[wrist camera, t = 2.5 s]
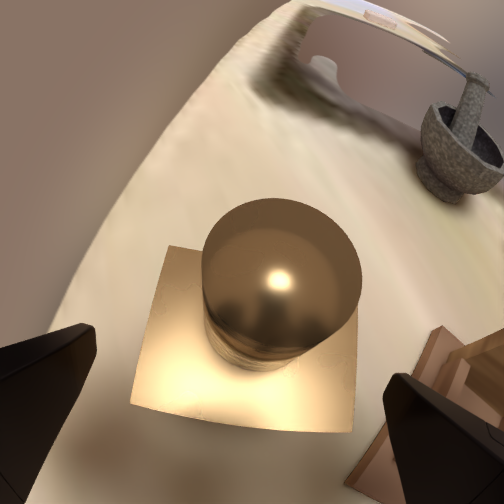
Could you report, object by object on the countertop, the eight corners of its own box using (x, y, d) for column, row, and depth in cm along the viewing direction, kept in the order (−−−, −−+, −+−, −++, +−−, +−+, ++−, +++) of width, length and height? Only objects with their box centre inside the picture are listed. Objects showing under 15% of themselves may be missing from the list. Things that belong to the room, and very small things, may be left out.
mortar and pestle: (477, 231, 24) (550, 154, 14) (405, 196, 25) (475, 93, 14) (460, 161, 30) (508, 92, 20) (398, 129, 30) (441, 47, 20)
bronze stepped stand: (450, 532, 10) (553, 546, 1) (343, 482, 13) (469, 521, 4) (511, 403, 16) (605, 370, 7) (432, 330, 18) (540, 264, 10)
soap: (367, 21, 61) (370, 12, 59) (362, 16, 64) (365, 8, 62) (394, 31, 62) (398, 23, 60) (389, 26, 65) (392, 18, 62)
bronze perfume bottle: (275, 422, 15) (423, 434, 4) (174, 406, 14) (80, 395, 4) (284, 347, 17) (410, 220, 6) (188, 331, 17) (156, 169, 6)
